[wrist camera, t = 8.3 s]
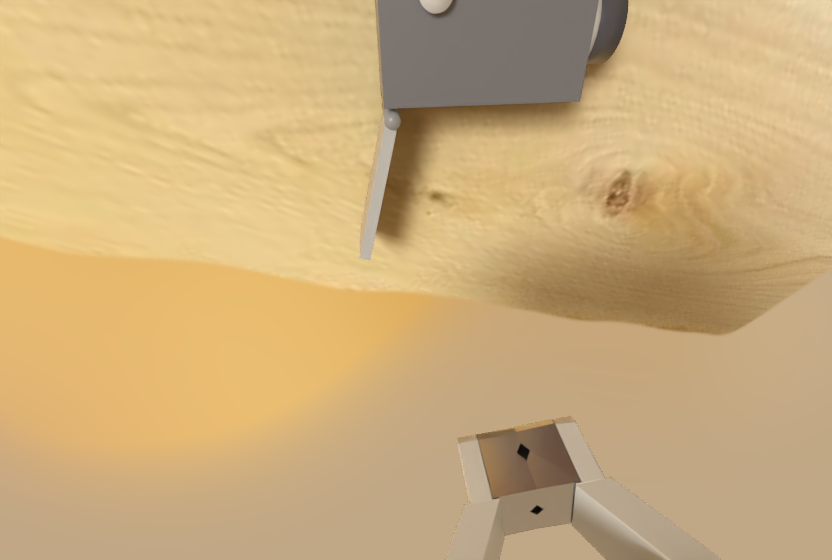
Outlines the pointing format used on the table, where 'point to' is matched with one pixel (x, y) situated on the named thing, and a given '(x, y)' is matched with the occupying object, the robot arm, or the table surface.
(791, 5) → the table surface
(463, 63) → the camera body
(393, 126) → the side door
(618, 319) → the table surface
